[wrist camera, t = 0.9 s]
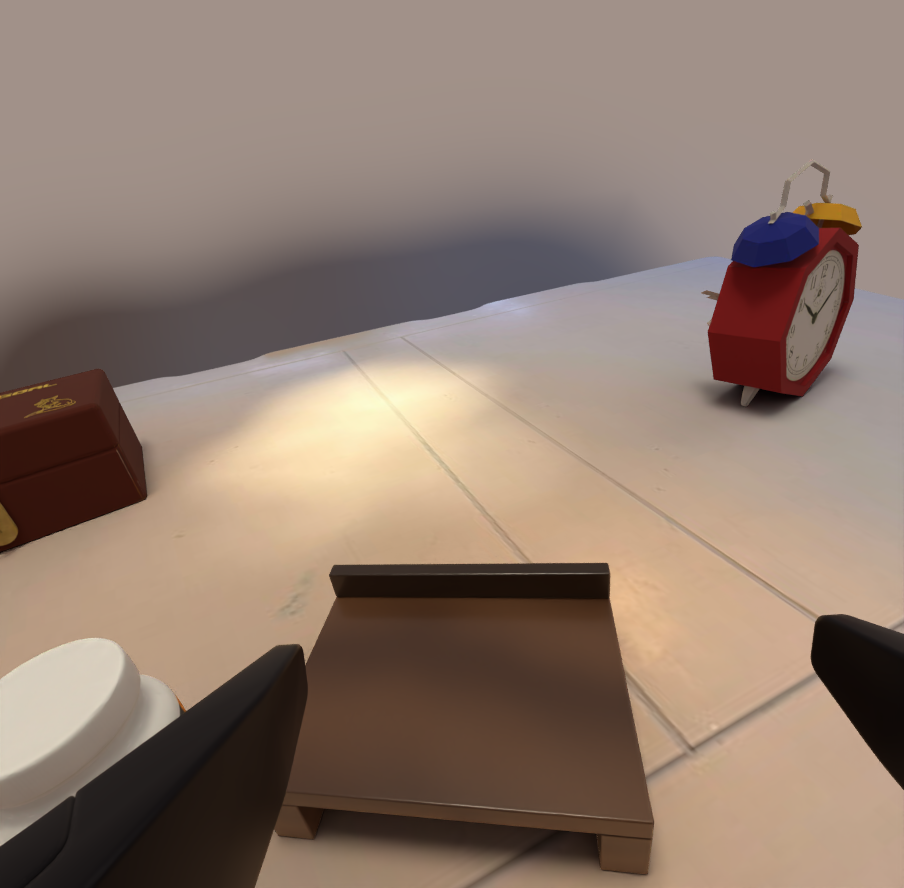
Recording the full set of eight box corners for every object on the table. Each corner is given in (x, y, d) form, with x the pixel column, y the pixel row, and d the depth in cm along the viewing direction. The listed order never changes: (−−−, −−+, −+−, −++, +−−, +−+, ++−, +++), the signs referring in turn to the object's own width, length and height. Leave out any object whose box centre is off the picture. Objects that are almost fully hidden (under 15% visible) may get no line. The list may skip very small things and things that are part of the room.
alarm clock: (767, 424, 42) (817, 162, 33) (674, 401, 48) (694, 176, 39) (837, 373, 49) (895, 145, 40) (748, 358, 55) (780, 160, 46)
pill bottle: (263, 767, 22) (174, 609, 17) (221, 942, 16) (77, 786, 12) (137, 789, 21) (12, 637, 17) (54, 973, 16) (-156, 828, 12)
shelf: (648, 875, 16) (658, 796, 14) (277, 836, 19) (233, 764, 17) (606, 635, 25) (608, 562, 23) (355, 630, 28) (333, 564, 25)
